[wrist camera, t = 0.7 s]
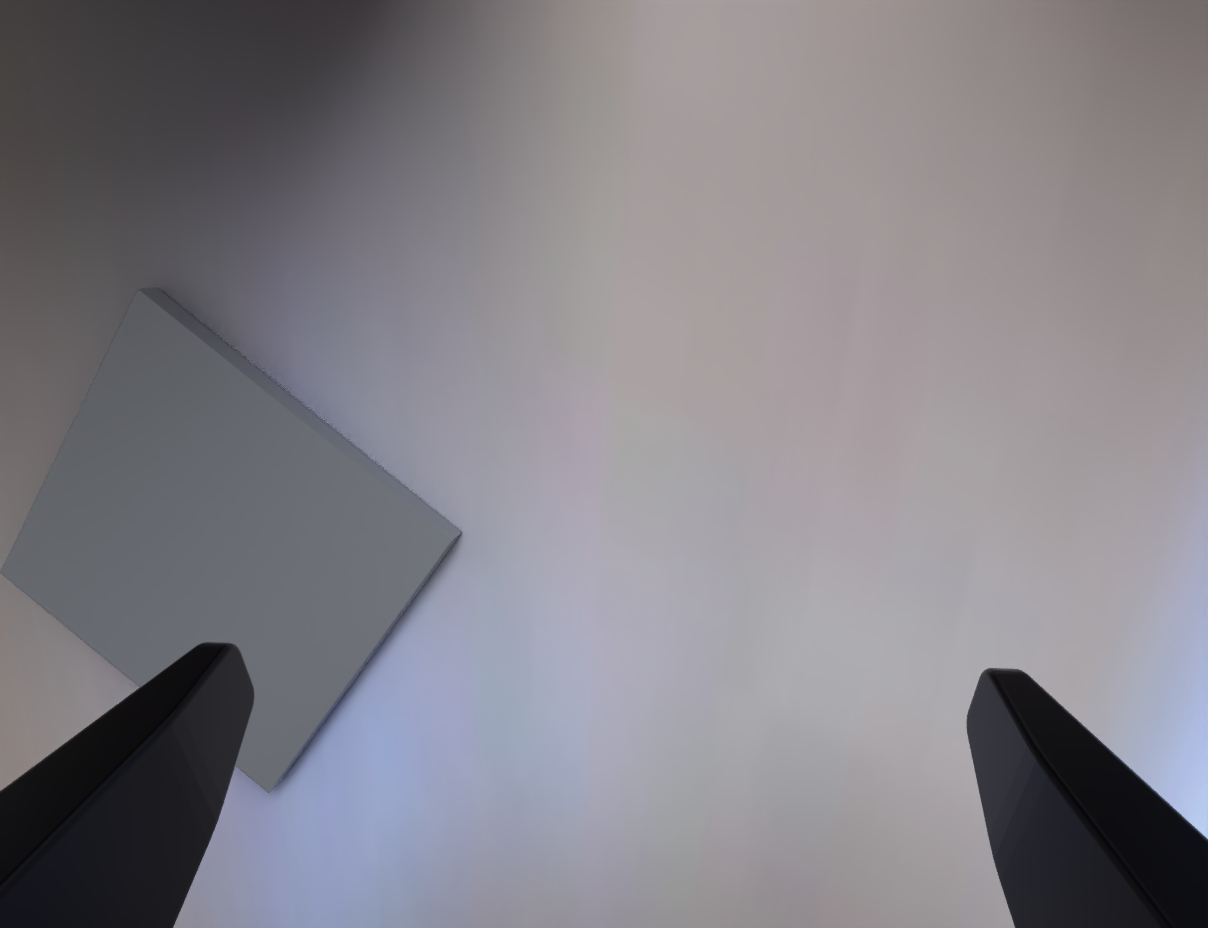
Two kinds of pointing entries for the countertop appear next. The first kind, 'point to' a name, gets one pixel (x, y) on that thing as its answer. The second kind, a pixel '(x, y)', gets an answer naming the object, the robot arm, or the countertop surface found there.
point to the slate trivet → (222, 530)
